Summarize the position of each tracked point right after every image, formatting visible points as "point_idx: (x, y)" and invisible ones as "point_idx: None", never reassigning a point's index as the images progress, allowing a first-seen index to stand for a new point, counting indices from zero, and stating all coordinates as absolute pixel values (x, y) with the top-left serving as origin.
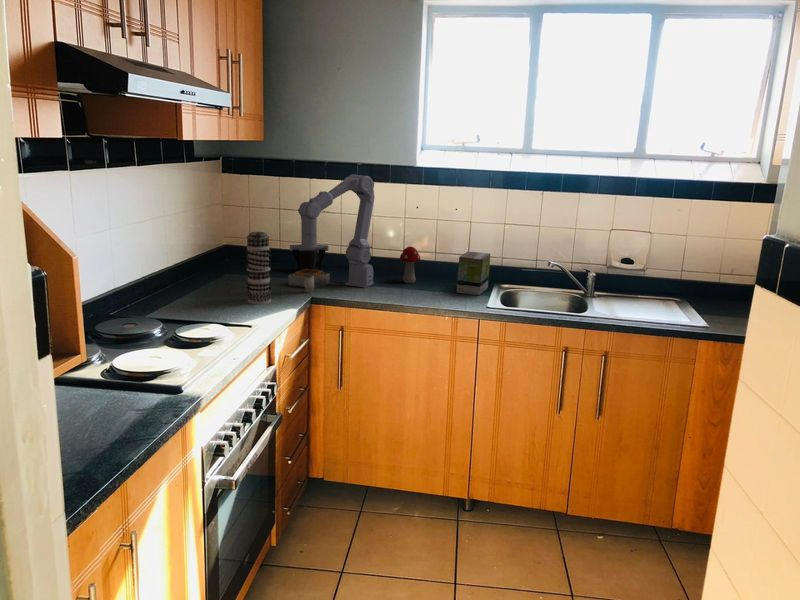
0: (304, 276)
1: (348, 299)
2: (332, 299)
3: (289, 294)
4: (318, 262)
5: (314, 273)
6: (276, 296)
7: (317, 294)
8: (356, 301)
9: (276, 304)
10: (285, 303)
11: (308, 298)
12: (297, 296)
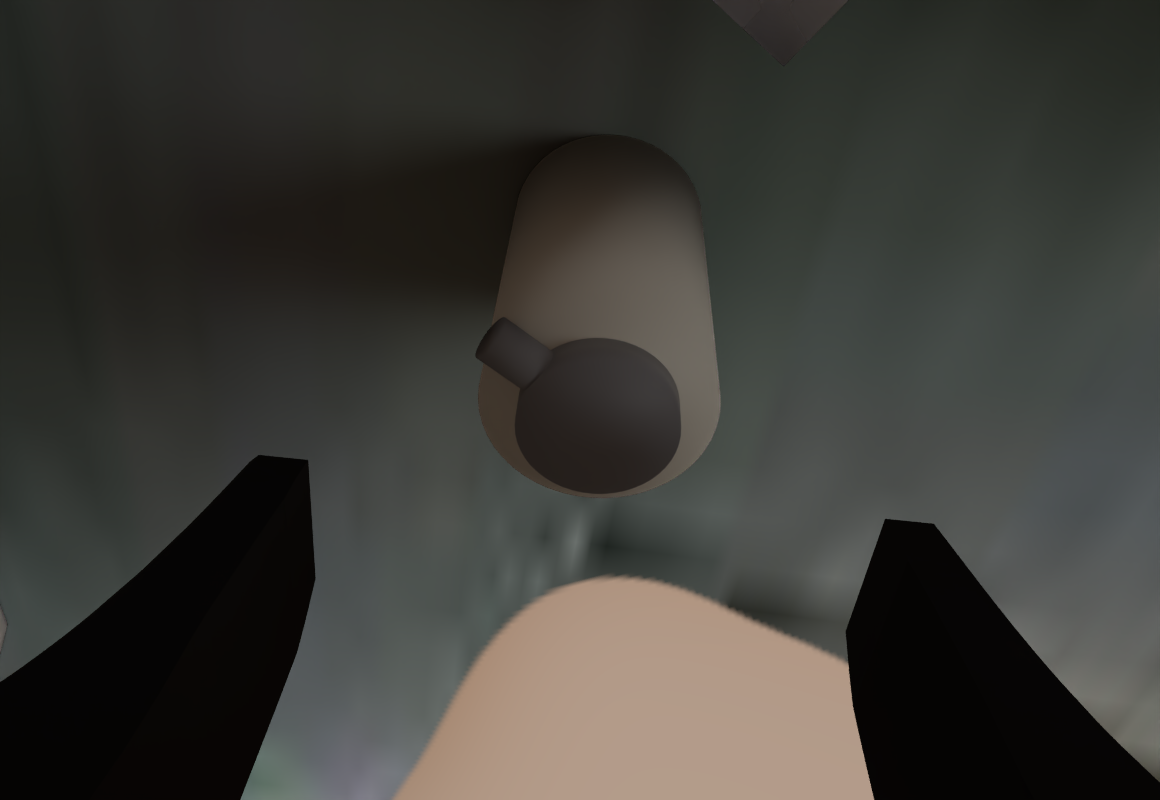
0: (483, 341)
1: (1092, 697)
2: None
3: (231, 334)
4: (938, 676)
5: None
6: (27, 416)
7: (724, 404)
8: None
9: None
10: None
11: (536, 581)
12: (372, 464)
